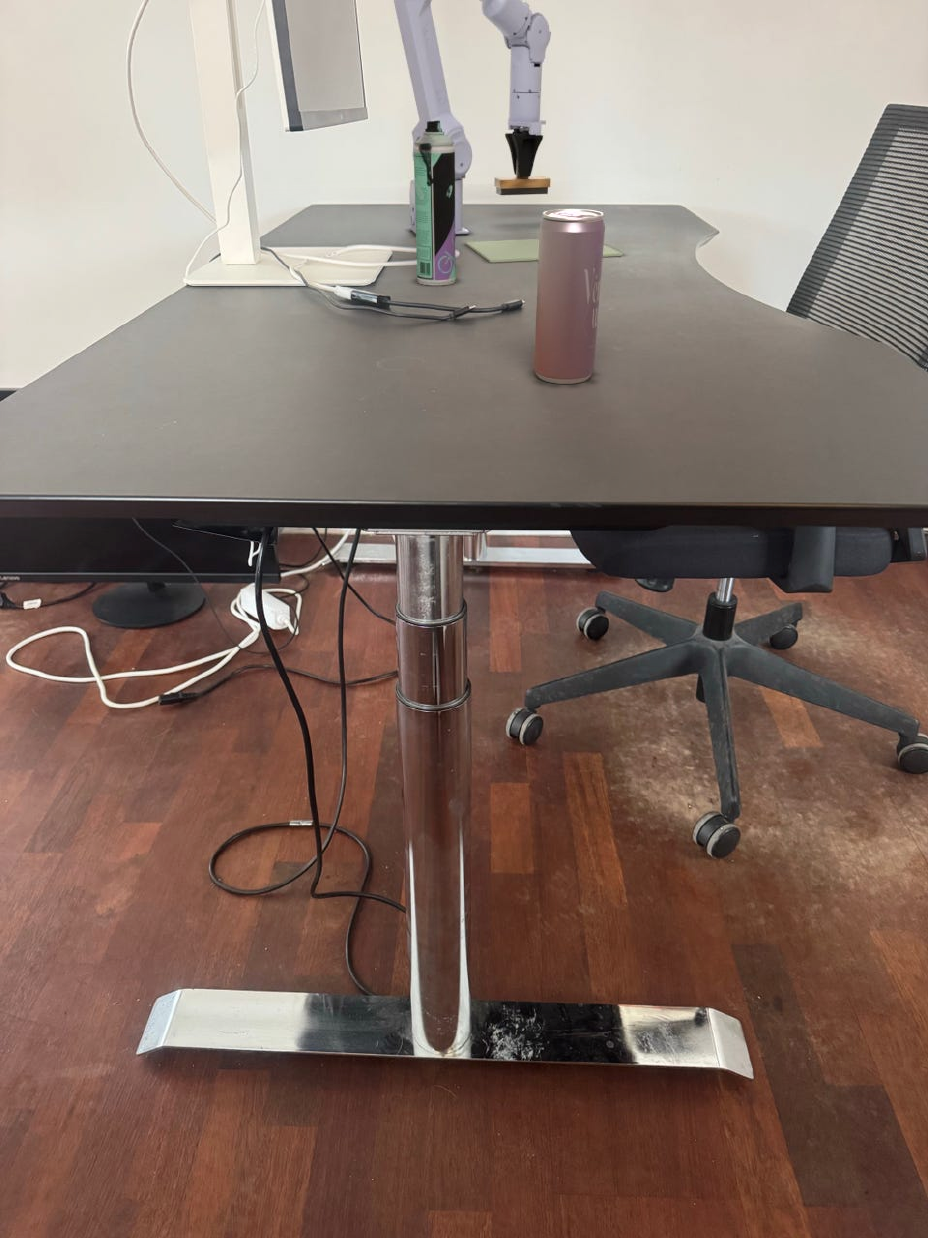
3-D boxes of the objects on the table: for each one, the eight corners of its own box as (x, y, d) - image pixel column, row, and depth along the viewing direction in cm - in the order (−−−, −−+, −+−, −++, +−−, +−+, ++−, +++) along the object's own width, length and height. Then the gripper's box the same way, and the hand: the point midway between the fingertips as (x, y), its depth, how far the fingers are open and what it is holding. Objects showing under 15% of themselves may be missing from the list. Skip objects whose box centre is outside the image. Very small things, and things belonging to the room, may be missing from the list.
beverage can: (555, 363, 91) (564, 206, 83) (604, 374, 88) (618, 212, 80) (521, 377, 87) (527, 213, 79) (571, 389, 84) (583, 220, 76)
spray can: (455, 285, 122) (453, 121, 111) (416, 285, 122) (411, 121, 111) (456, 277, 127) (455, 118, 116) (418, 277, 127) (414, 119, 116)
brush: (499, 195, 166) (500, 155, 162) (494, 192, 169) (494, 153, 165) (549, 193, 168) (551, 154, 164) (543, 191, 171) (545, 152, 167)
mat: (490, 262, 136) (490, 259, 135) (465, 244, 149) (465, 241, 149) (622, 255, 140) (622, 253, 140) (586, 238, 153) (587, 236, 153)
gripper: (559, 93, 154) (554, 178, 161) (534, 90, 166) (531, 170, 173) (521, 93, 153) (518, 180, 160) (498, 91, 164) (496, 171, 172)
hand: (522, 175), depth 166 cm, fingers closed on brush, 2 cm apart
